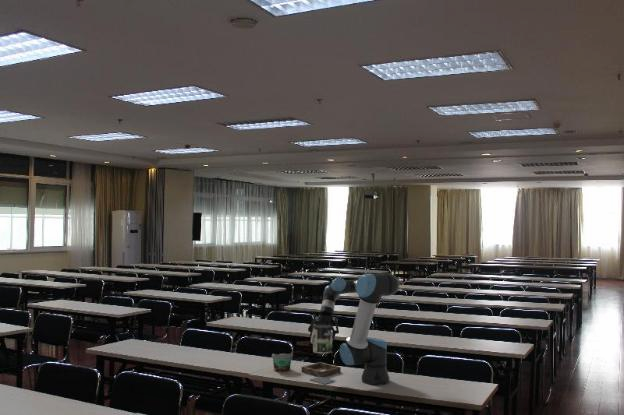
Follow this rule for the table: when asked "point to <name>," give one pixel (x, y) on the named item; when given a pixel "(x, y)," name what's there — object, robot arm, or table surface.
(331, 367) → the wooden tray
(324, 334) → the coffee can
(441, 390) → the table surface
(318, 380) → the mat
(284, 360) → the food container
